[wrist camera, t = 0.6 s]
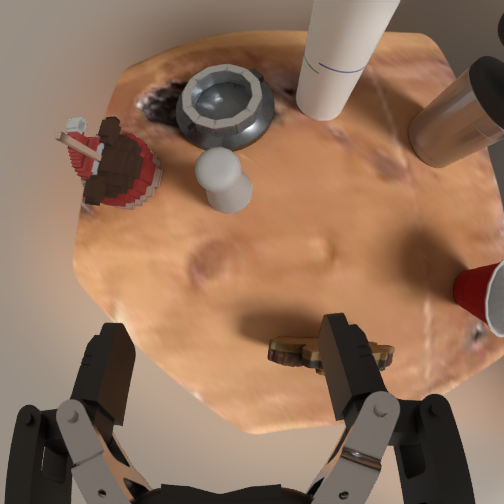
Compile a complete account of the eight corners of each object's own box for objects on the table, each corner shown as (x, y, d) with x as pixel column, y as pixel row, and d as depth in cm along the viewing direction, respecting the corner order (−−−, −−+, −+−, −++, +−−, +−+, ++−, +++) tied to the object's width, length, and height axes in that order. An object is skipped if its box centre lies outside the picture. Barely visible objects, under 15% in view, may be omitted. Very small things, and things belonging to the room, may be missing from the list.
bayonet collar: (235, 59, 37) (233, 42, 33) (294, 116, 37) (297, 101, 32) (162, 107, 38) (152, 93, 33) (213, 172, 37) (207, 162, 33)
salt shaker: (203, 206, 37) (173, 184, 24) (219, 168, 37) (199, 128, 24) (243, 222, 37) (233, 206, 24) (260, 182, 37) (258, 148, 24)
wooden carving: (266, 360, 37) (267, 393, 27) (267, 328, 37) (269, 354, 27) (378, 356, 37) (408, 383, 27) (382, 326, 37) (415, 347, 27)
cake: (155, 217, 38) (80, 193, 20) (101, 211, 38) (16, 189, 20) (170, 145, 38) (113, 80, 20) (116, 143, 38) (46, 93, 20)
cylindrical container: (331, 129, 37) (398, 4, 12) (287, 106, 37) (307, -34, 12) (349, 95, 37) (412, -23, 12) (308, 74, 37) (337, -55, 12)
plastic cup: (440, 255, 36) (492, 256, 24) (485, 253, 36) (533, 254, 24) (437, 325, 36) (484, 345, 24) (482, 317, 36) (527, 330, 24)
